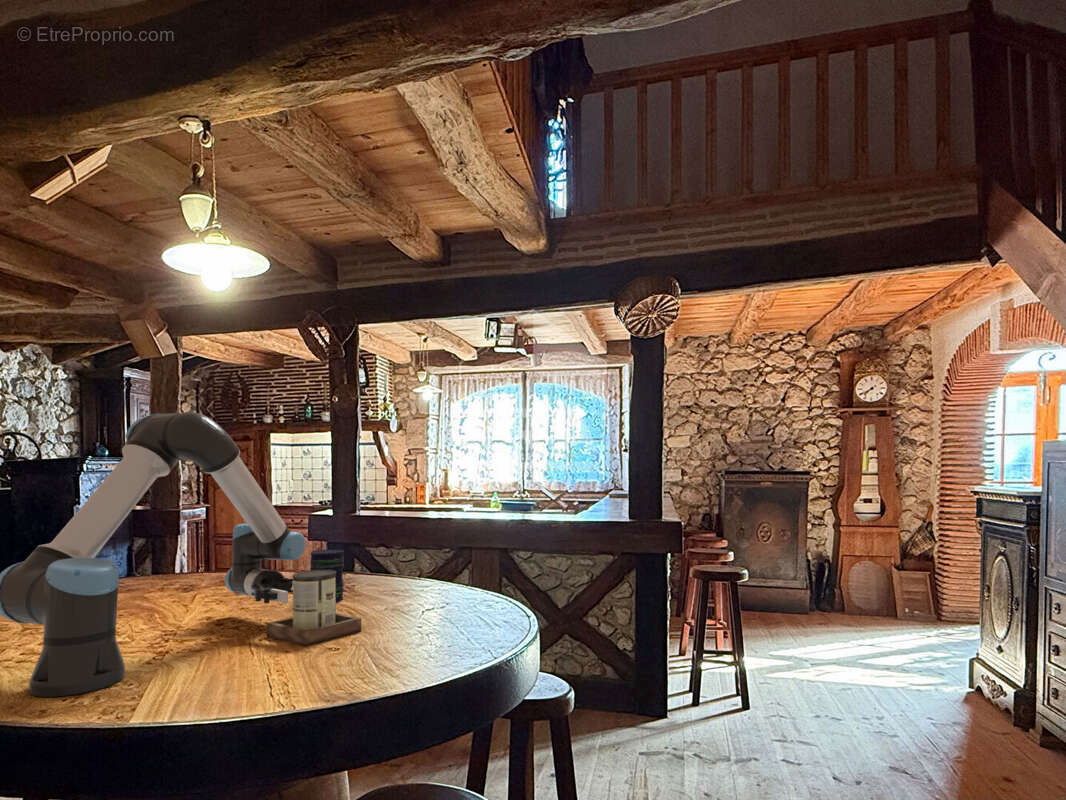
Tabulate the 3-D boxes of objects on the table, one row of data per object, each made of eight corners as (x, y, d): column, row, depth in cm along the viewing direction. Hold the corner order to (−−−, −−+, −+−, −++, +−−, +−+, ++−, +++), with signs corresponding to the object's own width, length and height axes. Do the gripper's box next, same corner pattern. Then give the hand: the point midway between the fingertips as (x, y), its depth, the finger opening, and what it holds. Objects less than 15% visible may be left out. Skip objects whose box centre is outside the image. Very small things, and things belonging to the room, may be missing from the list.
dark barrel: (315, 605, 192) (316, 554, 194) (305, 600, 200) (306, 551, 201) (348, 601, 198) (348, 551, 199) (337, 596, 206) (337, 548, 207)
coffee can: (299, 626, 165) (300, 570, 166) (340, 625, 165) (341, 569, 166) (285, 637, 154) (286, 577, 156) (329, 636, 155) (329, 576, 156)
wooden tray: (361, 631, 161) (361, 618, 162) (305, 646, 149) (305, 632, 149) (322, 622, 171) (322, 610, 171) (266, 636, 158) (266, 623, 158)
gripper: (306, 590, 184) (352, 599, 171) (219, 607, 165) (264, 618, 152) (306, 563, 185) (352, 570, 172) (219, 577, 165) (264, 585, 152)
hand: (311, 592), depth 162 cm, fingers open, 13 cm apart
